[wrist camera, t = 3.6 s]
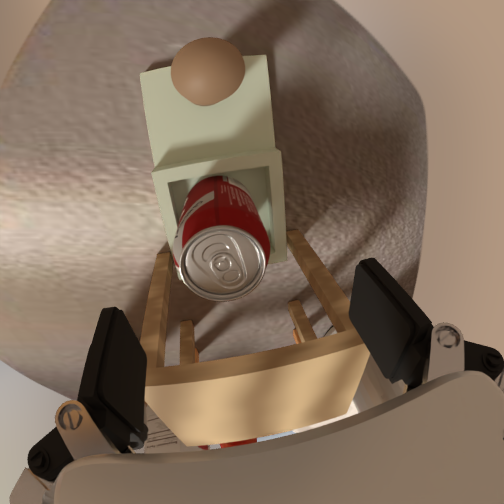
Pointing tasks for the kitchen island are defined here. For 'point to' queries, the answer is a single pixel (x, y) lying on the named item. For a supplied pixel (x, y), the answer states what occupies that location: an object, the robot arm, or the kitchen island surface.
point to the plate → (350, 412)
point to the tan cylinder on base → (214, 132)
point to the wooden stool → (254, 367)
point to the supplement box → (164, 437)
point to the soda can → (220, 241)
